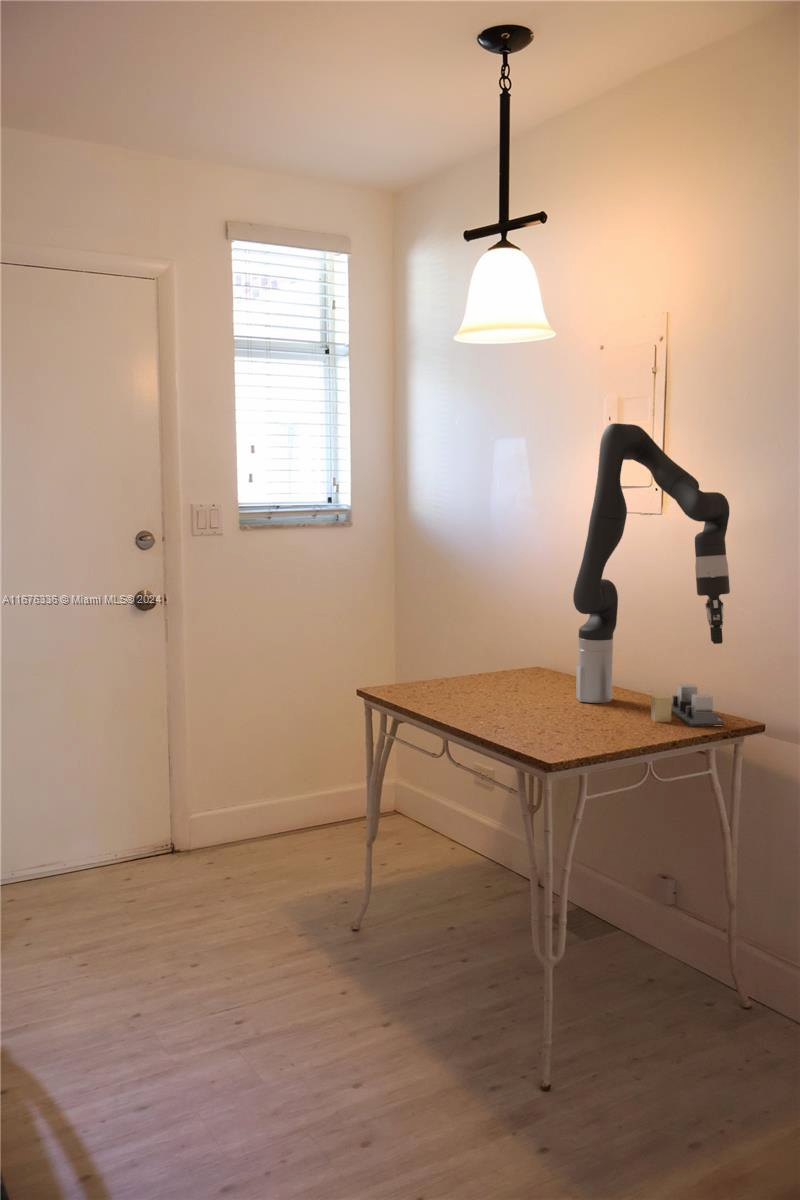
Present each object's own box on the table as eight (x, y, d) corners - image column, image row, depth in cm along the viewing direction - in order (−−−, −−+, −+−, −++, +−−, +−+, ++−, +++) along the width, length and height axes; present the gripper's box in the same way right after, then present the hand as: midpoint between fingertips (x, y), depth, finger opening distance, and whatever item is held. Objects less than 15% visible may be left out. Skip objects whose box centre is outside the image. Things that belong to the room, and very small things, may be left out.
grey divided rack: (689, 726, 239) (690, 699, 238) (667, 708, 260) (668, 683, 259) (722, 726, 239) (723, 699, 238) (697, 708, 260) (698, 683, 259)
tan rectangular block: (654, 721, 245) (655, 698, 244) (651, 718, 249) (651, 694, 248) (671, 722, 245) (671, 698, 244) (667, 718, 248) (667, 694, 248)
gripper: (694, 576, 245) (699, 641, 245) (696, 576, 231) (701, 645, 231) (726, 574, 243) (731, 640, 243) (730, 573, 229) (735, 643, 229)
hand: (716, 642), depth 237 cm, fingers open, 8 cm apart
